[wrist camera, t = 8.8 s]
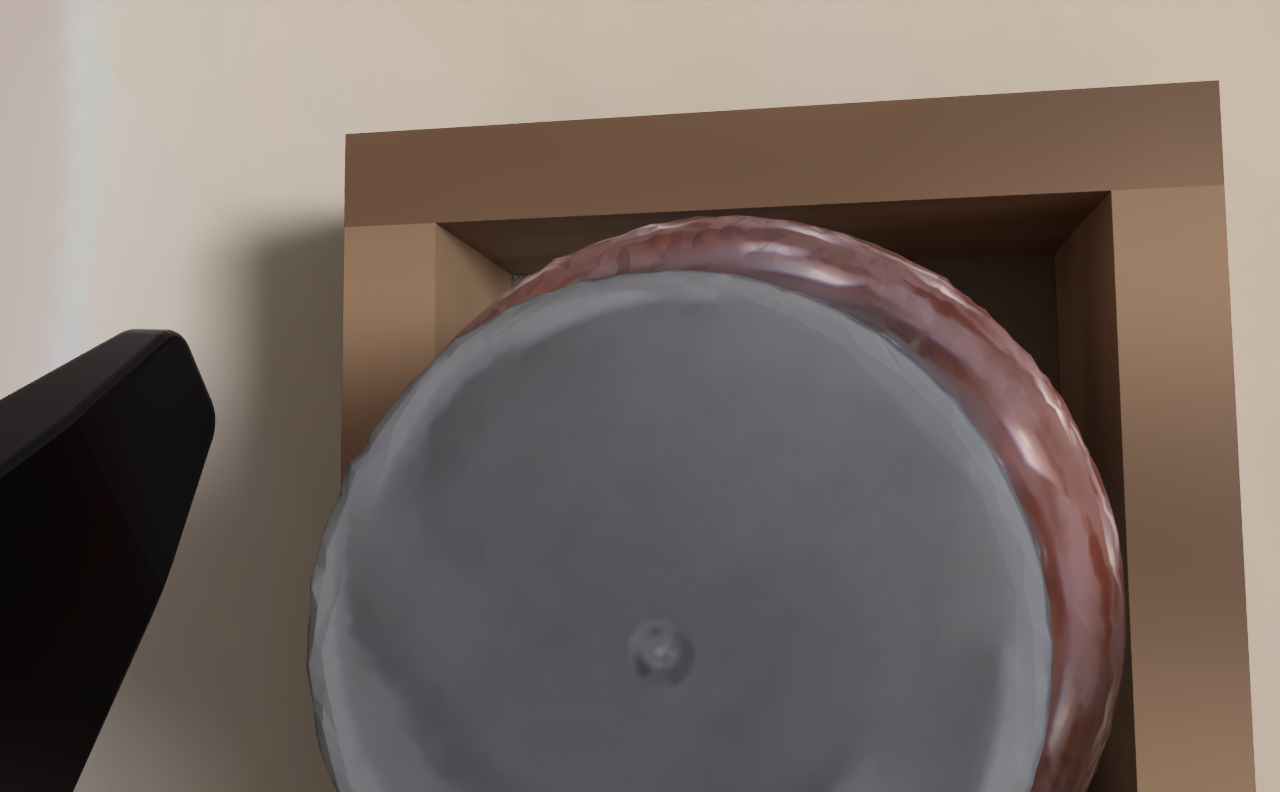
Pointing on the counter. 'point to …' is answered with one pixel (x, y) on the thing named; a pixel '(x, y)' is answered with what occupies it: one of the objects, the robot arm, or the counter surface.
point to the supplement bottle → (721, 539)
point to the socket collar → (913, 228)
